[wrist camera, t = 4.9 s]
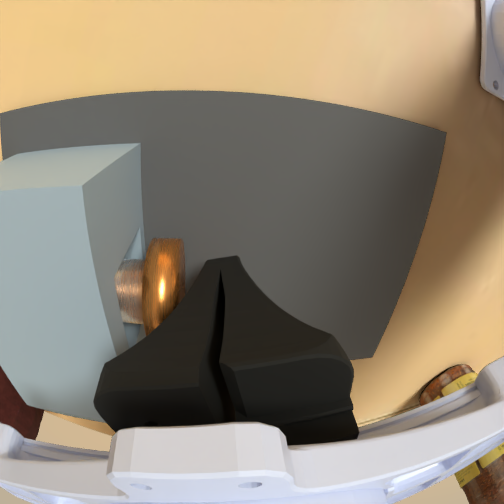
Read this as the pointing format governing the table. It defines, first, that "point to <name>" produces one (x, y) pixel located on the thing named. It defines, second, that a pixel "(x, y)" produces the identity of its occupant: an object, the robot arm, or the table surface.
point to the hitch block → (66, 269)
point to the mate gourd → (18, 410)
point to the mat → (268, 191)
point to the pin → (152, 283)
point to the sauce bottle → (485, 468)
